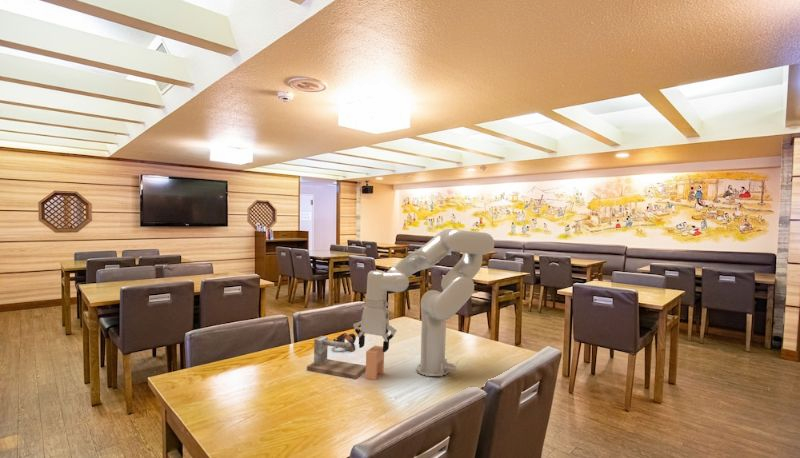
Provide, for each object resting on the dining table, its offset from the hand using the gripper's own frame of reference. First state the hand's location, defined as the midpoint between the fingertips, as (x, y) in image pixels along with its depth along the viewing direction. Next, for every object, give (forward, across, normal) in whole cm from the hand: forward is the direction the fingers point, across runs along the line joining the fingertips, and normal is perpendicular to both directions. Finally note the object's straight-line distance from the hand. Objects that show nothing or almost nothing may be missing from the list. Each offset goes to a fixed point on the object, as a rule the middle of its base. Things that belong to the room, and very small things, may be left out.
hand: (373, 349), depth 145 cm
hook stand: (+10, +14, 0) cm, 18 cm away
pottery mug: (+11, +23, -23) cm, 35 cm away
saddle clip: (+10, -1, -1) cm, 10 cm away
